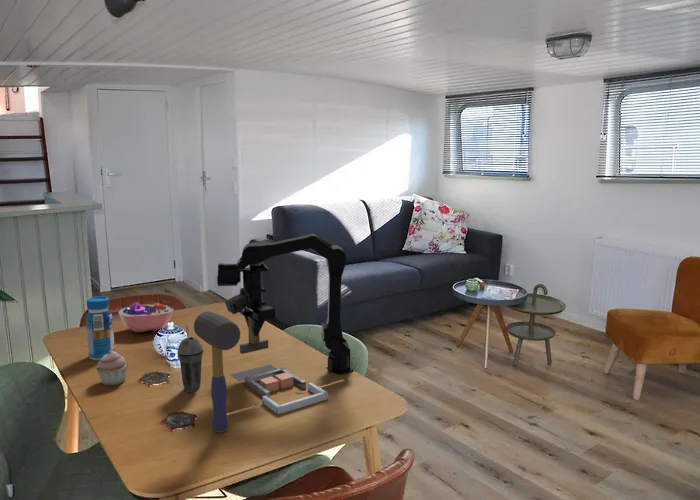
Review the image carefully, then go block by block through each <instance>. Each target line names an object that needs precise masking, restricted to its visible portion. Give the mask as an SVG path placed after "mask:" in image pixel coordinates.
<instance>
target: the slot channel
mask: <svg viewBox="0 0 700 500" xmlns="http://www.w3.org/2000/svg"><path fill="white" fill-rule="evenodd" d="M286 372H287V373H288V374H290V375H292V376H293V379H294V385H296V386H298V387H299V388H300V389H302V390H304V389H307V381H306V380H305V379H302V378H301V377H299V376H298V375H296V374H294V373H293V372H291V371H289V370H287V368H284V367H281V368H277V370H273V371H269V372H265V373H261V374H257V375H254V376H250V377H246V378H244V379H245V380H244V385H245V386H246V387H248V388H249V389H251V390H252V391H254V392H255V393H257V394H258V395H259V396H261V397H262V396H267V397H268V398H270V399H271V392H269V391H268V390H266V389H265V388H264V387H262V386H261V385H260V379H264V378H267V377H271V376H272V377H274V378H275V375H279V374H282V373H286Z"/></svg>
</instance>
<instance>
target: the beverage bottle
mask: <svg viewBox="0 0 700 500" xmlns="http://www.w3.org/2000/svg"><path fill="white" fill-rule="evenodd" d="M109 308H110V299H109V297H108V296H103V295H101V296H100V295H99V296H98V295H97V296H93V297H89V298H87V299H86V309H87V310H88V313H87V314H86V315H85V322H86V325H85V329H86V336H87V337H86V338H87V348H88V351H87V352H88V358H89V359H90V360H93V361H100V360H101V359H102V357H103V356H104V355H106V354H109V351H110V350H111V351H115V352H116V349H115V348H116V347H115V336H114V325H115V324H114V322H113V314H112V312H111V311H110V310H109Z"/></svg>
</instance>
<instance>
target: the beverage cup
mask: <svg viewBox="0 0 700 500" xmlns="http://www.w3.org/2000/svg"><path fill="white" fill-rule="evenodd" d="M185 330H186V338H183V339H182V340H181V342H180V343H179V344H178V348H177V357H178V360H179V366H180V372H181V379H182V380H181V381H182V385H183V390H184V392H186V393H196V392H197V390H199V388H201V381H202V359H203V356H204V355H203V354H204V353H203V352H204V349H203V345H202V342H201V341H200V340H199V339H197V338H195V337H190V334H189V326H188V324H185Z"/></svg>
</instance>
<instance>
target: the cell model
mask: <svg viewBox="0 0 700 500" xmlns="http://www.w3.org/2000/svg"><path fill="white" fill-rule="evenodd" d="M173 313H174V308H172V307H170V306H168V305H166V304H160V303H149V304H141V303H140V302H139V301H135V302H133V303H132V304H130V305H129V306H127V307H123V308H121V309H120V310H118V313H117V314H118V315H119V317H120V319H121V321H122V323H123V325H124V326H125V327H127V328H128V329H129V330H131V331H133V332H135V333H142V332H149V331H154V332H155V331H160V330H162V329H163V328H164V327H165V326H167V324H168V323H169V322H170V320H171V319H172V316H173ZM161 328H162V329H161ZM159 329H160V330H159Z"/></svg>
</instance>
